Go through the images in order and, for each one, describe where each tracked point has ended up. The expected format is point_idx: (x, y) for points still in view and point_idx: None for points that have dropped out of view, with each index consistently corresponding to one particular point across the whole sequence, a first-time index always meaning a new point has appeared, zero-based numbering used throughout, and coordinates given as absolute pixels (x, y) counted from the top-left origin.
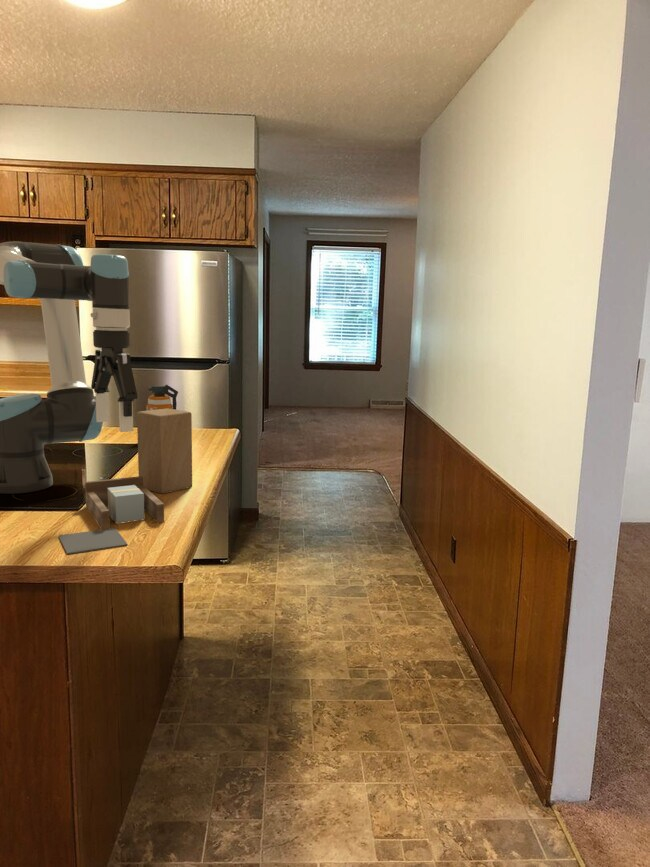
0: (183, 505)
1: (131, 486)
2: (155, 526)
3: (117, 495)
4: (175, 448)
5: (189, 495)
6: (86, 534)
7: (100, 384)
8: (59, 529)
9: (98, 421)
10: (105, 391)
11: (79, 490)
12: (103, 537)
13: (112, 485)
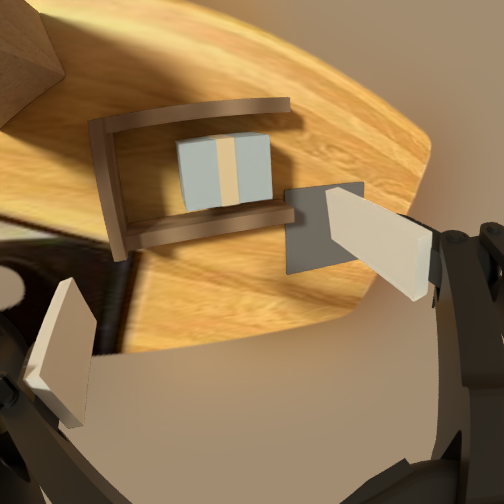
0: (175, 38)
1: (191, 154)
2: (296, 120)
3: (264, 193)
4: (11, 18)
5: (99, 17)
6: (300, 236)
7: (89, 465)
8: (249, 275)
9: (94, 320)
10: (25, 395)
11: (4, 254)
12: (324, 212)
13: (115, 195)
